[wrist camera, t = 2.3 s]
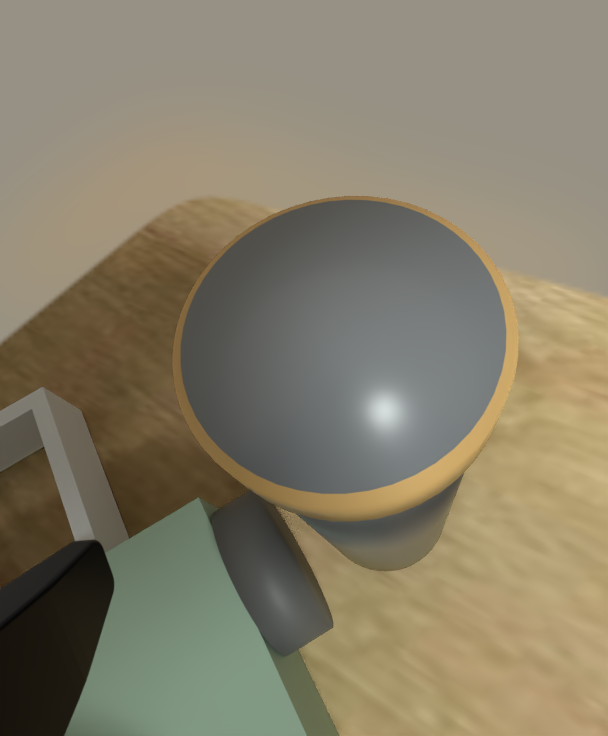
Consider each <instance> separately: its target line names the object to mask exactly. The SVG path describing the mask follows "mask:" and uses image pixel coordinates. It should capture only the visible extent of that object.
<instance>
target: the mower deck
mask: <svg viewBox="0 0 608 736" xmlns="http://www.w3.org/2000/svg"><path fill="white" fill-rule="evenodd" d="M43 447H45V451H46V454H47V457H48V460H49V463H50V466H51V469H52V472H53V475H54V478H55V481H56V484H57V487H58V490H59V493H60V496H61V500H62V503H63V506H64V509H65V512H66V515H67V518H68V521H69V524H70V527H71V530H72V533H73V536H74V539H75V541H80V540H93V539H95V540H98V541H99V542H100V543H101V544H102V546H103V548H104V551H105V554H106V557H107V560H108V563H109V565H110V568H111V571H112V574H113V577H114V593H113V596H112V600H111V603H110V606H109V610H108V613H107V616H106V619H105V623H104V626H103V629H102V633H101V636H100V639H99V643H98V646H97V649H96V652H95V656H94V659H93V662H92V666H91V669H90V672H89V675H88V678H87V681H86V683H85V686H84V689H83V691H82V694H81V696H80V699H79V701H78V704H77V706H76V709H75V711H74V714H73V716H72V719H71V721H70V723H69V726H68V728H67V731H66V733H65V736H339V734H338V732H337V730H336V728H335V726H334V724H333V722H332V720H331V718H330V716H329V714H328V711H327V709H326V707H325V705H324V703H323V701H322V699H321V697H320V695H319V693H318V691H317V689H316V686H315V684H314V682H313V680H312V678H311V676H310V674H309V672H308V670H307V668H306V666H305V663H304V661H303V659H302V657H301V655H300V653H299V651H298V649H300V648H301V647H303V646H304V645H306V644H308V643H309V642H311V641H312V640H314V639H316V638H317V637H319V636H320V635H322V634H324V633H325V632H327V631H328V630H330V629H332V628H333V620H332V616H331V613H330V610H329V607H328V605H327V602H326V600H325V597H324V595H323V593H322V590H321V588H320V586H319V584H318V582H317V580H316V578H315V576H314V573H313V571H312V569H311V568H310V566H309V564H308V562H307V560H306V558H305V556H304V554H303V552H302V550H301V549H300V547H299V545H298V543H297V541H296V540H295V538H294V536H293V535H292V533H291V531H290V529H289V528H288V526H287V525H286V523H285V521H284V520H283V518H282V517H281V515H280V513H279V512H278V510H277V509H276V508H275V506H274V505H273V504H271V503H269V502H268V501H266V500H265V499H263V498H262V497H260V496H258V495H257V494H255V493H254V492H252V491H251V490H250V491H248V492H247V493H245V494H243V495H242V496H240V497H238V498H237V499H235V500H233V501H232V502H230V503H228V504H227V505H225V506H223V507H222V508H220V509H219V508H217V507H215V506H213V505H212V504H210V503H208V502H206V501H204V500H202V499H201V498H199V497H198V498H197V499H195V500H193V501H192V502H190V503H188V504H186V505H185V506H183V507H181V508H180V509H178V510H176V511H175V512H173V513H171V514H170V515H168V516H166V517H165V518H163V519H161V520H160V521H158V522H156V523H155V524H153V525H151V526H150V527H148V528H146V529H145V530H143V531H141V532H140V533H138V534H136V535H135V536H133V537H131V538H130V539H129V536H128V534H127V531H126V528H125V526H124V523H123V520H122V518H121V515H120V512H119V510H118V507H117V504H116V502H115V499H114V496H113V494H112V491H111V488H110V486H109V483H108V480H107V478H106V475H105V473H104V470H103V467H102V465H101V462H100V459H99V457H98V454H97V451H96V449H95V446H94V443H93V441H92V438H91V435H90V433H89V430H88V427H87V425H86V422H85V419H84V417H83V414H82V411H81V410H80V409H78V408H77V407H75V406H73V405H72V404H70V403H68V402H67V401H65V400H64V399H62V398H60V397H59V396H57V395H55V394H54V393H52V392H51V391H49V390H47V389H46V388H44V387H41V388H39V389H38V390H36V391H34V392H32V393H31V394H29V395H27V396H25V397H24V398H22V399H20V400H18V401H17V402H15V403H13V404H11V405H10V406H8V407H6V408H4V409H3V410H1V411H0V472H1V471H3V470H5V469H6V468H8V467H10V466H12V465H13V464H15V463H17V462H18V461H20V460H22V459H24V458H25V457H27V456H29V455H31V454H32V453H34V452H36V451H37V450H39V449H41V448H43Z"/></svg>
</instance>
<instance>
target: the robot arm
mask: <svg viewBox="0 0 608 736" xmlns="http://www.w3.org/2000/svg"><path fill="white" fill-rule="evenodd" d="M113 593H114V577H113V574H112V571H111V568H110V565H109V563H108V560H107V557H106V554H105V551H104V548H103V546H102V544H101V543H100V542H99V541H98V540H95V539H93V540H80V541H74V542H72V543H70V544H68V545H67V546H65V547H64V548H62V549H61V550H59V551H58V552H56V553H55V554H53V555H52V556H50V557H48V558H47V559H45V560H44V561H42V562H41V563H39V564H38V565H36V566H35V567H33V568H32V569H30V570H28V571H27V572H25V573H24V574H22V575H21V576H19V577H18V578H16V579H15V580H13V581H12V582H10V583H8V584H7V585H5V586H4V587H2V588H1V589H0V736H65V733H66V731H67V728H68V726H69V723H70V721H71V719H72V716H73V714H74V711H75V709H76V706H77V704H78V701H79V699H80V696H81V694H82V691H83V689H84V686H85V683H86V681H87V678H88V675H89V672H90V669H91V666H92V662H93V659H94V656H95V652H96V649H97V646H98V643H99V639H100V636H101V633H102V629H103V626H104V623H105V619H106V616H107V613H108V610H109V606H110V603H111V600H112V596H113Z"/></svg>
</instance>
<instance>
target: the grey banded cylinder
mask: <svg viewBox="0 0 608 736" xmlns="http://www.w3.org/2000/svg"><path fill="white" fill-rule="evenodd" d="M518 345H519V333H518V325H517V318H516V312H515V309H514V305H513V302H512V299H511V295H510V292H509V290H508V288H507V286H506V284H505V282H504V280H503V278H502V275H501V274H500V272H499V271H498V269H497V268H496V266H495V265H494V263H493V262H492V260H491V259H490V257H489V256H488V255H487V254H486V253H485V252H484V251H483V250H482V248H481V247H480V246H479V245H478V244H477V243H476V242H475V241H474V240H473V239H472V238H471V237H469V236H468V235H467V234H466V233H465V232H463V231H462V230H461V229H460V228H458V227H457V226H455V225H454V224H452V223H450V222H449V221H447V220H446V219H444V218H442V217H440V216H438V215H436V214H434V213H432V212H430V211H428V210H426V209H423V208H420V207H417V206H414V205H411V204H409V203H405V202H401V201H396V200H391V199H387V198H378V197H369V196H344V197H335V198H326V199H321V200H315V201H310V202H307V203H303V204H300V205H297V206H294V207H290V208H288V209H285V210H283V211H280V212H278V213H276V214H273V215H271V216H269V217H267V218H266V219H264V220H262V221H260V222H258V223H256V224H255V225H253V226H252V227H250V228H249V229H247V230H246V231H244V232H243V233H241V234H240V235H238V236H237V237H236V238H235V239H234V240H232V241H231V242H230V243H229V244H228V245H227V246H225V247H224V248H223V249H222V250H221V251H220V252H219V253H218V254H217V255H216V257H215V258H214V259H213V260H212V261H211V262H210V263H209V264H208V266H207V267H206V268H205V270H204V271H203V272H202V274H201V275H200V276H199V278H198V279H197V281H196V283H195V284H194V286H193V288H192V290H191V291H190V293H189V295H188V297H187V299H186V302H185V304H184V306H183V309H182V311H181V314H180V317H179V321H178V324H177V327H176V331H175V338H174V344H173V359H172V371H173V378H174V386H175V391H176V395H177V398H178V402H179V406H180V409H181V411H182V413H183V416H184V418H185V420H186V422H187V424H188V427H189V428H190V430H191V431H192V433H193V435H194V436H195V438H196V439H197V441H198V442H199V444H200V445H201V446H202V448H203V449H204V450H205V451H206V452H207V453H208V454H209V456H210V457H211V458H212V459H213V460H214V461H215V462H216V463H217V464H218V465H220V466H221V467H222V468H223V469H224V470H225V471H227V472H228V473H229V474H230V475H231V476H233V477H234V478H235V479H237V480H238V481H239V482H240V483H242V484H243V485H244V486H246V487H247V488H248V489H250V490H251V491H252V492H254V493H255V494H257V495H258V496H260V497H262V498H263V499H265V500H266V501H268V502H269V503H271V504H273V505H276V506H278V507H280V508H282V509H284V510H287V511H289V512H292V513H295V514H297V515H298V516H299V517H300V518H301V519H303V520H304V521H305V522H306V523H307V524H308V525H310V526H311V527H312V528H313V529H314V530H315V531H317V532H318V533H319V534H320V535H321V536H322V537H324V538H325V539H326V540H327V541H328V542H329V543H331V544H332V545H333V546H334V547H335V548H336V549H338V550H339V551H340V552H341V553H342V554H343V555H345V556H346V557H347V558H348V559H350V560H351V561H353V562H354V563H356V564H358V565H360V566H362V567H365V568H368V569H372V570H378V571H393V570H399V569H403V568H406V567H408V566H411V565H413V564H415V563H416V562H418V561H420V560H421V559H422V558H423V557H425V556H426V555H427V554H428V553H429V552H430V551H431V550H432V548H433V547H434V545H435V544H436V543H437V541H438V539H439V537H440V535H441V532H442V529H443V527H444V524H445V521H446V519H447V516H448V514H449V511H450V508H451V506H452V503H453V500H454V498H455V495H456V493H457V490H458V487H459V485H460V482H461V479H462V477H463V474H464V472H465V471H466V470H467V469H468V468H469V466H470V465H471V464H472V463H473V462H474V461H475V459H476V458H477V456H478V455H479V454H480V452H481V451H482V449H483V448H484V447H485V445H486V443H487V441H488V439H489V437H490V435H491V433H492V431H493V429H494V427H495V425H496V423H497V421H498V419H499V416H500V414H501V412H502V410H503V408H504V405H505V403H506V401H507V398H508V395H509V393H510V390H511V387H512V384H513V381H514V378H515V372H516V366H517V360H518Z"/></svg>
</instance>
